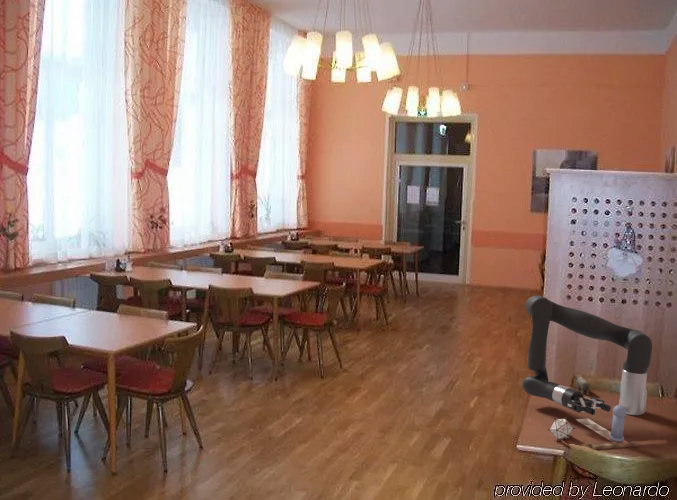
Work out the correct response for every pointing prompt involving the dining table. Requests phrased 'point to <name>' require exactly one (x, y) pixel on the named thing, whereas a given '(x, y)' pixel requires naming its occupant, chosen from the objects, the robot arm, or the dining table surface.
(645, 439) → the dining table surface
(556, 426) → the game die
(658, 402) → the dining table surface
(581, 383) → the rhino figurine
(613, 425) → the pawn
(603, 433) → the game board
